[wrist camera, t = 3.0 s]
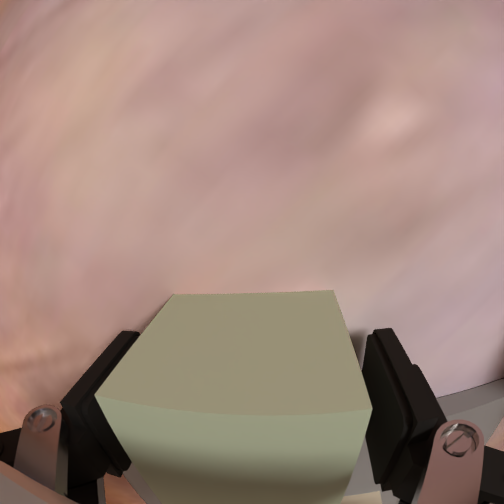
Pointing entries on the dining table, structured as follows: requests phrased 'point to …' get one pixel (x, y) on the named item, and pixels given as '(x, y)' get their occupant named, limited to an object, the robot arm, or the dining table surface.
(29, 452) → the robot arm
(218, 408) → the green cube
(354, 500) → the base block
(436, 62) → the dining table surface
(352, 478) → the build board
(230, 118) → the dining table surface
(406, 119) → the dining table surface
